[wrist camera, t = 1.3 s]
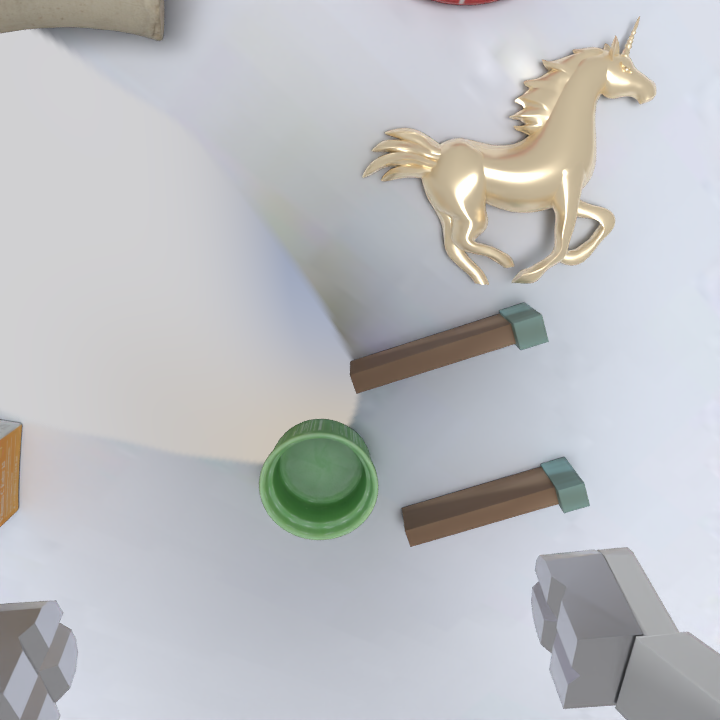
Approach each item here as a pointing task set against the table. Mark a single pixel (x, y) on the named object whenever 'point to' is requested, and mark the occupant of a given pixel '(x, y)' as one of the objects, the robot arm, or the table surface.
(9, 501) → the small box
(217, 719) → the table surface
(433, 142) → the unicorn
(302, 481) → the ramekin
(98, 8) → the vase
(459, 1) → the torus
